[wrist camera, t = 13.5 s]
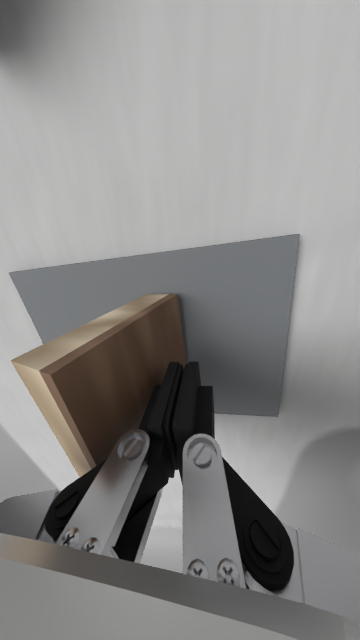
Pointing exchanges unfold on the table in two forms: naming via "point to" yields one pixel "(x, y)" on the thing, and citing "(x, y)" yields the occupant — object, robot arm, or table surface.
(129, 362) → the tile
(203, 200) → the table surface
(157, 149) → the table surface
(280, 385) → the mat
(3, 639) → the robot arm
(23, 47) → the table surface
